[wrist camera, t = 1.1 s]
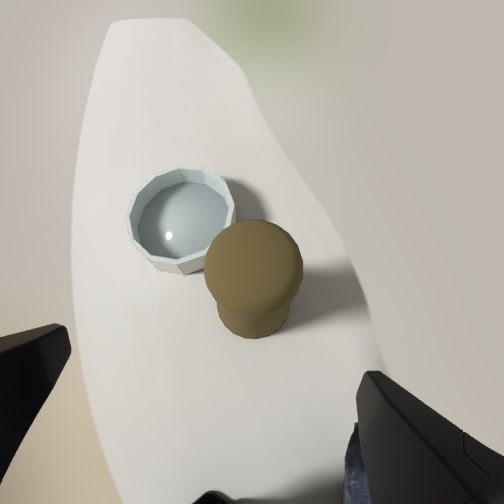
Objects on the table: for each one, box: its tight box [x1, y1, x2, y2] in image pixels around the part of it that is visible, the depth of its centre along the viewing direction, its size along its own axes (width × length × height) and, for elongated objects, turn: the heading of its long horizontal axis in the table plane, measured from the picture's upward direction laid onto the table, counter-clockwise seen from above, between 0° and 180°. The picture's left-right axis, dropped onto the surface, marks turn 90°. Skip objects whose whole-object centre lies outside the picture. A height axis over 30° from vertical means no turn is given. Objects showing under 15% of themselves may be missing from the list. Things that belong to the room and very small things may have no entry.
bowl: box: [125, 165, 236, 275], centre depth 25 cm, size 9×9×3 cm
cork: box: [204, 219, 303, 339], centre depth 19 cm, size 6×6×11 cm
